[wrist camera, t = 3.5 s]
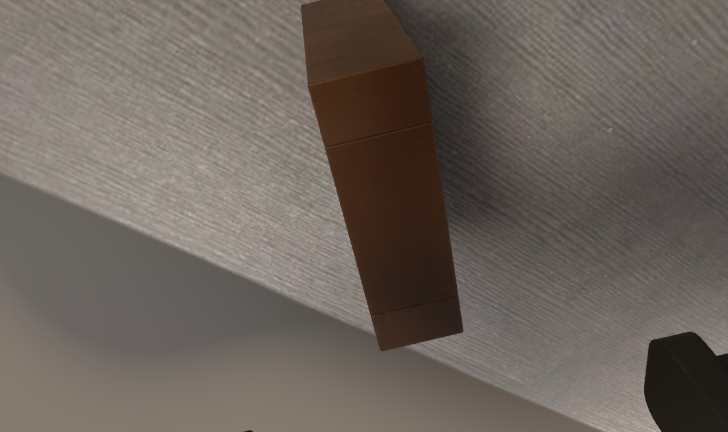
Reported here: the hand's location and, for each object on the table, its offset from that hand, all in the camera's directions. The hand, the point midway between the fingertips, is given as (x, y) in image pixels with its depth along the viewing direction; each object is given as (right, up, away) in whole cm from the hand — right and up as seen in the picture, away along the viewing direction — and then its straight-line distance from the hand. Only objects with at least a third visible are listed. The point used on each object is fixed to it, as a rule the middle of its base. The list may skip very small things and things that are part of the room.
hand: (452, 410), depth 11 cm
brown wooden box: (-2, +8, +13) cm, 16 cm away
